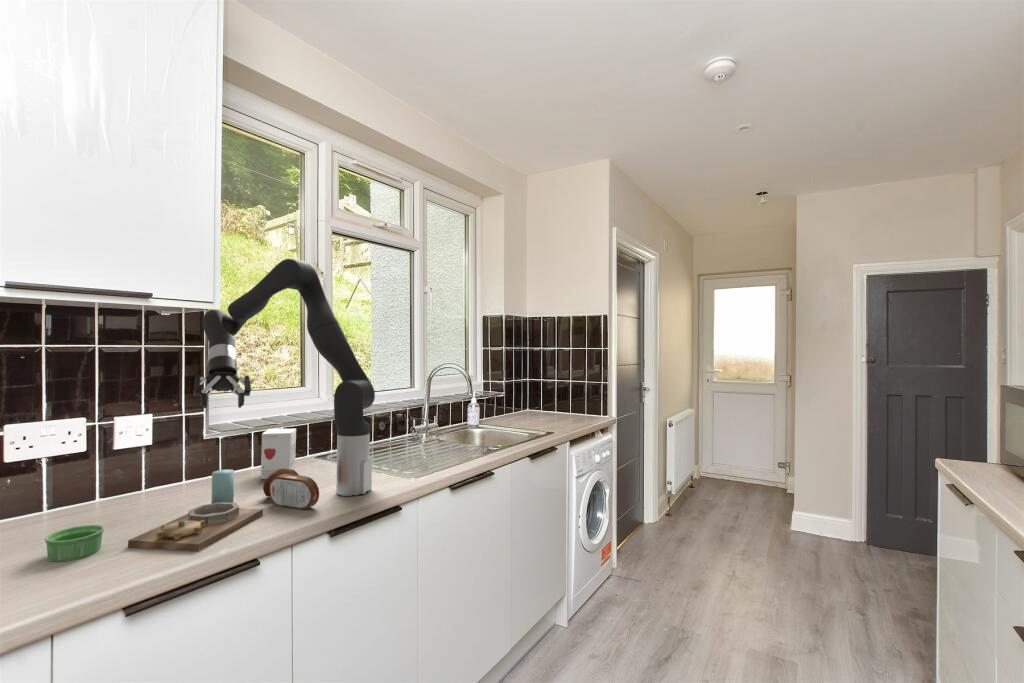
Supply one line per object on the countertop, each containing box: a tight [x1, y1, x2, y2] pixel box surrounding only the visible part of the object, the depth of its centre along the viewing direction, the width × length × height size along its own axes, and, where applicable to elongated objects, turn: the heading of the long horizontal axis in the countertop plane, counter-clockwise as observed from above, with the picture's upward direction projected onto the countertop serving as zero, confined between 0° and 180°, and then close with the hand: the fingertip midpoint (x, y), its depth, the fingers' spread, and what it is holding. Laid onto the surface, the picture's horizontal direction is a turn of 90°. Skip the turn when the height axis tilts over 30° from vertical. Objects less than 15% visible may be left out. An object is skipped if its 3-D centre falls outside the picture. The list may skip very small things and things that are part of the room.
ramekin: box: [44, 524, 105, 563], centre depth 99 cm, size 9×9×4 cm
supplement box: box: [260, 428, 297, 480], centre depth 160 cm, size 9×9×15 cm
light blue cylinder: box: [210, 469, 235, 504], centre depth 128 cm, size 5×5×10 cm
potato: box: [262, 469, 300, 498], centre depth 139 cm, size 8×12×8 cm, turn 156°
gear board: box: [127, 502, 264, 552], centre depth 112 cm, size 16×22×4 cm
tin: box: [269, 474, 320, 511], centre depth 129 cm, size 15×3×8 cm, turn 71°
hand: (223, 406), depth 137 cm, fingers open, 8 cm apart
